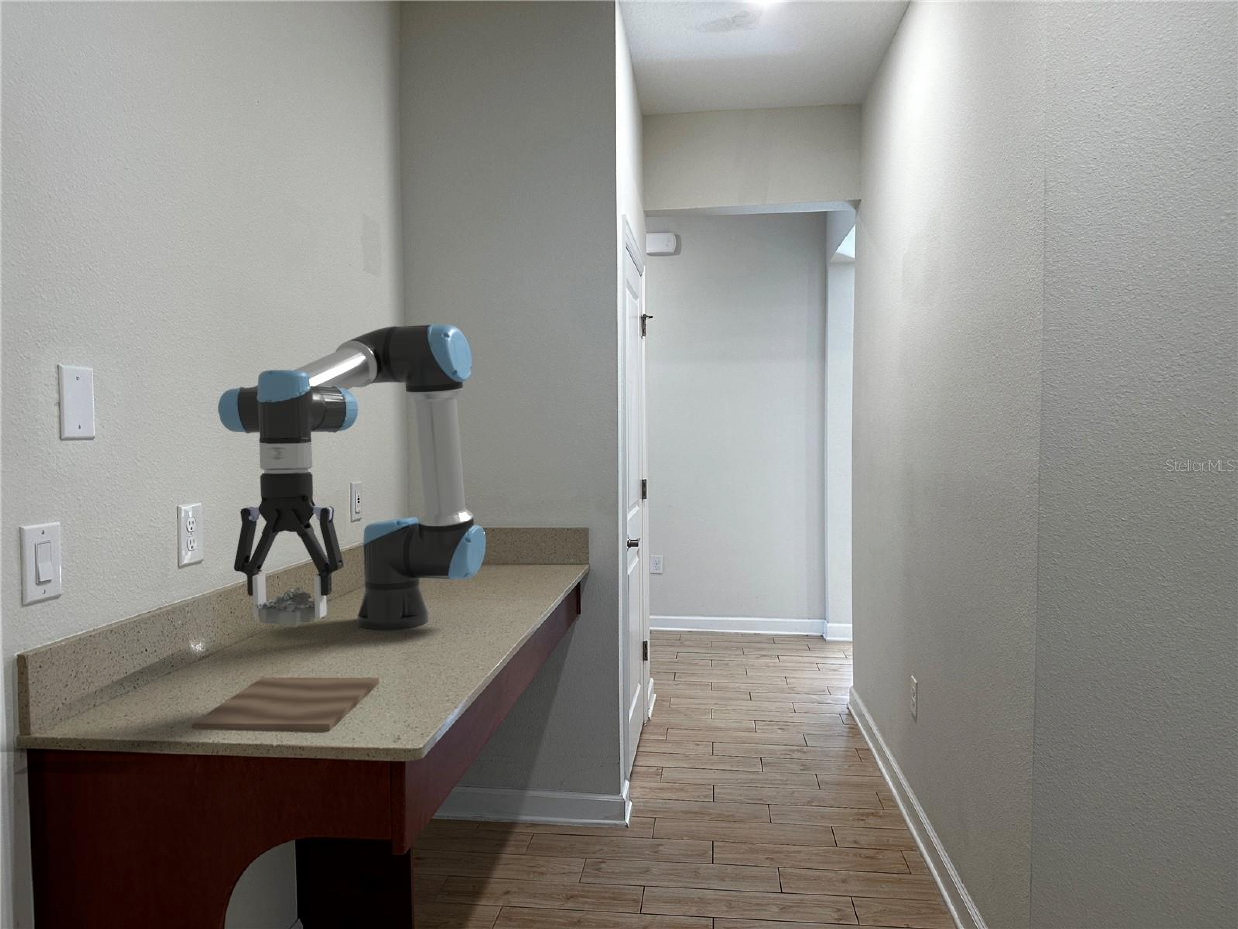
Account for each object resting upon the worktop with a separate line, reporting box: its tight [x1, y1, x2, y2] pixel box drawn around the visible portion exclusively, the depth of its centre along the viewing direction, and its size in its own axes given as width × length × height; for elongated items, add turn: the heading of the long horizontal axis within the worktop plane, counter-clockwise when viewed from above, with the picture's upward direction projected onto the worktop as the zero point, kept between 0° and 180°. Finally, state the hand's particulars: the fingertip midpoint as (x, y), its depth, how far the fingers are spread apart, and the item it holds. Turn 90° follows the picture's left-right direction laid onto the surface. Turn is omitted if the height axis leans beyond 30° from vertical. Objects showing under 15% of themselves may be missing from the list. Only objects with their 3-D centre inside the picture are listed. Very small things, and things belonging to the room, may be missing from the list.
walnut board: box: [191, 677, 380, 732], centre depth 133 cm, size 22×20×1 cm
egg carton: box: [255, 586, 333, 628], centre depth 133 cm, size 11×8×4 cm
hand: (290, 616), depth 132 cm, fingers closed on egg carton, 9 cm apart
